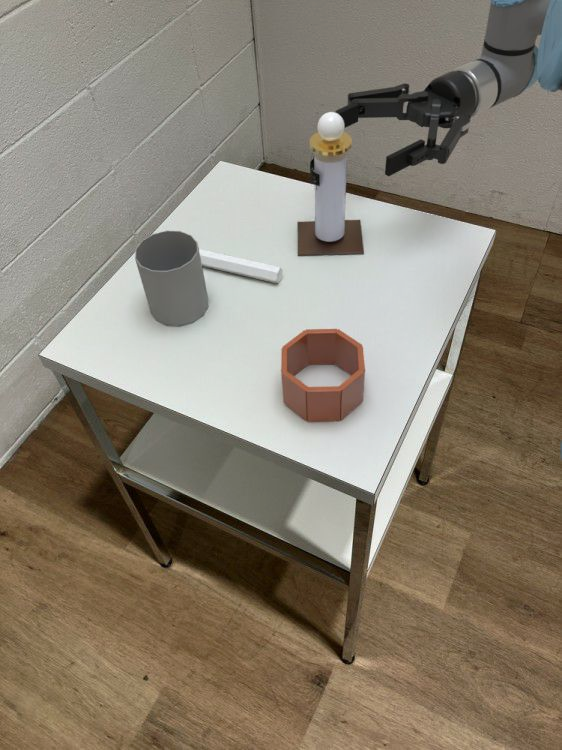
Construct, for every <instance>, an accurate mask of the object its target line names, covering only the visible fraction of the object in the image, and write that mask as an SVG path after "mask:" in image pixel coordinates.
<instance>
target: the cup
mask: <svg viewBox="0 0 562 750" xmlns="http://www.w3.org/2000/svg"><path fill="white" fill-rule="evenodd" d="M199 247H200V246H199V242H198V241H197V240H196V239H195V238H194V237H193V235H192V234H189V233H187V232H183V231H181V230H163V231H159V232H155V233H153V234H151V235H149V236H147V237H146V238H144V239H142V240H141V241H140V243H138V245H137V247H135V250H134V252H135V253H134V261H135V265H136V267H137V271H138V274H139V278H140V280H141V284H142V288H143V291H144V294H145V299H146V301H147V305H148V308H149V312H150V314H151V315H152V317H153V319H154V320H155V321H156V322H158V323H159V324H162V325H164V326H167V327H183V326H187V325H189V324H193V323H194V322H196V321H198V320H199V319H201V318H202V317H204V315H205V313H206V312H207V310H208V308H209V295H208V290H207V284H206V279H205V275H204V270H203V266H202V263H201V258H200V253H199V249H200V248H199Z"/></svg>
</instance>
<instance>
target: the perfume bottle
mask: <svg viewBox="0 0 562 750" xmlns="http://www.w3.org/2000/svg"><path fill="white" fill-rule="evenodd" d="M316 127H317V132H315V133H313V134H312V135H311V137H310V138H309V148H310V150H311V151H312V152H313V153H312V154H311V156H310V159H311V160H310V161H309V172H310V173H309V177H310V178H309V179H310V182H311V183H313V185H314V221H315V235H316V236H317V238H319V239H320V240H323V241H329V242H331V241H336V240H339V239H341V238H342V237H343V236H344V232H345V220H346V199H347V197H346V196H347V173H348V172H347V171H348V170H347V169H348V151H350V150H351V148H352V147H353V138H352V136H351V135H350V134H349V133H348V132H346V131H345V125H344V120H343V119H342V117H341V116H340V115H339V114H337V113H335V111H328V112H325V113H323V114H322V115H321V116H320V117H319V119H318V121H317V126H316Z"/></svg>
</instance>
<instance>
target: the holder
mask: <svg viewBox="0 0 562 750" xmlns="http://www.w3.org/2000/svg"><path fill="white" fill-rule="evenodd" d="M280 359H281V361H280V362H281V363H280V365H281V366H280V373H281V374H280V376H281V386H282V387H281V388H282V401H283V404H284V406H286V407H287V408H289V409H290V410H291V411H293V412H294V414H296V415H298V416H299V417H300V418H301V419H303V420H304V421H305V422H307V423H319V422H320V423H321V422H322V423H324V422H341V421H343V420H344V419H345V418H346V417H348V415H350V414H351V413H352V412H353V411H354V410H355V409H356V408H358V407H359V406H360V405H361V404H362V403H363V400H364V389H365V387H364V386H365V378H366V377H365V376H366V365H365V354H364V346H363V344H362V343H361V342H359V341H357V340H356V339H354V338H353V337H352V336H350V335H348V334H346V333H345V332H343V331H342V330H341V329H340V328H312V329H308V328H307V329H304V330H302V331H301V332H300V333H298V334H297V335H296V336H294V337H293V338H292V339H290V340H289V341H288V342H286V343H285V344H284V345H282V347H281V358H280ZM311 365H312V366H313V365H314V366H316V365H335V366H337V367H339V368H340V369H341V370H342V371H344V372H345V373H347V374H348V375H350V376H349V377H348V378H347V379H346V380H345V381H343V382H342V383H341V384H340V385H337V386H334V385H333V386H308V385H306V384H305V383H304V382H302V381H301V380H299V379H298V378H297V377H296V375H297V374H299V373H300V372H301V371H302V370H303V369H305V368H306V367H307V366H311Z"/></svg>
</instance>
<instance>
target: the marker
mask: <svg viewBox="0 0 562 750" xmlns="http://www.w3.org/2000/svg"><path fill="white" fill-rule="evenodd" d="M199 253H200V258H201V263H202V267H205V268H210V269H214V270H218V271H222V272H227V273H231V274H234V275H239V276H244V277H249V278H252V279H257V280H261V281H264V282H268V283H273V284H279V283H280V282H281V279H282V278H283V277H282V276H283V268H282V267H281V266H276V265H271V264H268V263H263V262H259V261H254V260H249V259H245V258H241V257H236V256H232V255H228V254H222V253H218V252H213V251H209V250H205V249H201V248H199Z"/></svg>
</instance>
